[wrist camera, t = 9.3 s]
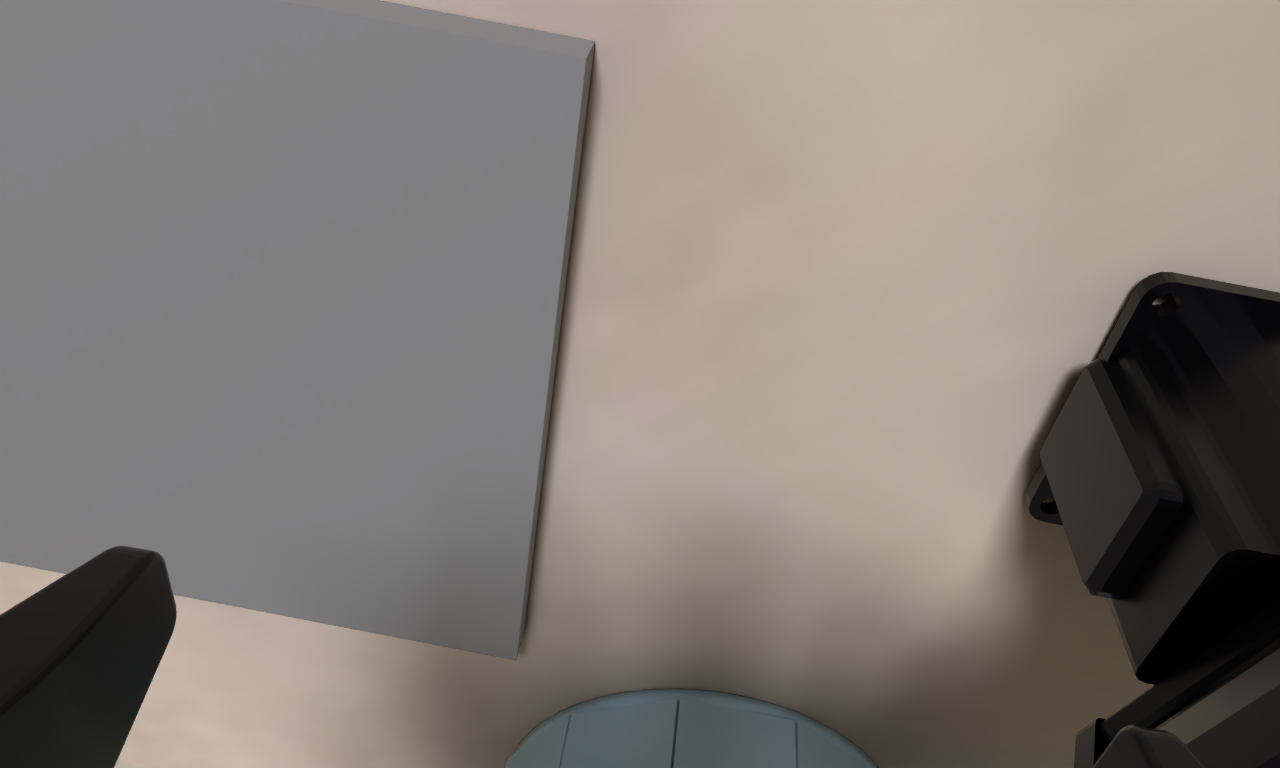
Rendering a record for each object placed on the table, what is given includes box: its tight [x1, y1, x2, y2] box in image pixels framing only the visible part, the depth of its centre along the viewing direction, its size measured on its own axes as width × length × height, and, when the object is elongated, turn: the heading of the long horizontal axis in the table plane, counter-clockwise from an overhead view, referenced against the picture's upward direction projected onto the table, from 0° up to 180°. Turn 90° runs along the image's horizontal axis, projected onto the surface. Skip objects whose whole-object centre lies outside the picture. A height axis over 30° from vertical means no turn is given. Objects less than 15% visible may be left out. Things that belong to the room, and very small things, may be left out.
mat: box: [0, 0, 595, 660], centre depth 22 cm, size 17×17×1 cm
